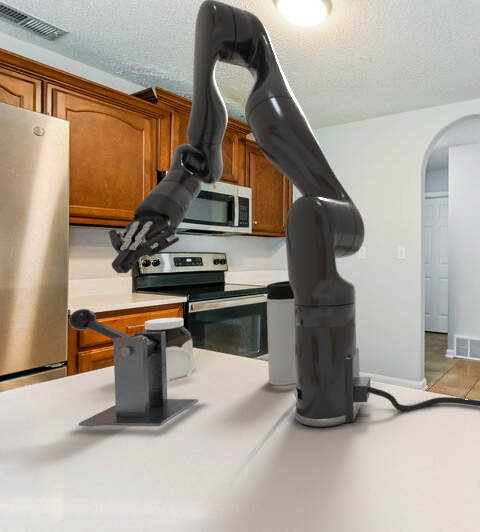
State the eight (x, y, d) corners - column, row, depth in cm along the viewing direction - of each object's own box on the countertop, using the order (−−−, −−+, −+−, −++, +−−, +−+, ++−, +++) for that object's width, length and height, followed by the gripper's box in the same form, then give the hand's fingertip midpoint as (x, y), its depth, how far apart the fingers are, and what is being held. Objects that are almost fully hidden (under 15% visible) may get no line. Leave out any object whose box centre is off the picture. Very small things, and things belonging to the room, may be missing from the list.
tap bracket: (78, 431, 53) (75, 342, 52) (128, 406, 62) (125, 329, 61) (160, 432, 52) (157, 341, 52) (198, 406, 61) (196, 329, 61)
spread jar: (167, 368, 83) (166, 316, 83) (214, 369, 82) (213, 316, 81) (120, 386, 71) (118, 326, 71) (173, 389, 70) (172, 327, 69)
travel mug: (311, 382, 72) (309, 279, 72) (284, 393, 67) (281, 281, 66) (289, 377, 75) (287, 278, 75) (261, 387, 70) (259, 281, 69)
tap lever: (59, 326, 55) (67, 307, 55) (79, 322, 59) (86, 304, 59) (137, 363, 55) (145, 343, 55) (152, 357, 58) (160, 339, 58)
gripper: (123, 193, 73) (67, 255, 62) (188, 191, 73) (143, 253, 61) (144, 222, 79) (96, 284, 67) (204, 221, 78) (167, 283, 66)
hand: (119, 269), depth 64 cm, fingers closed
